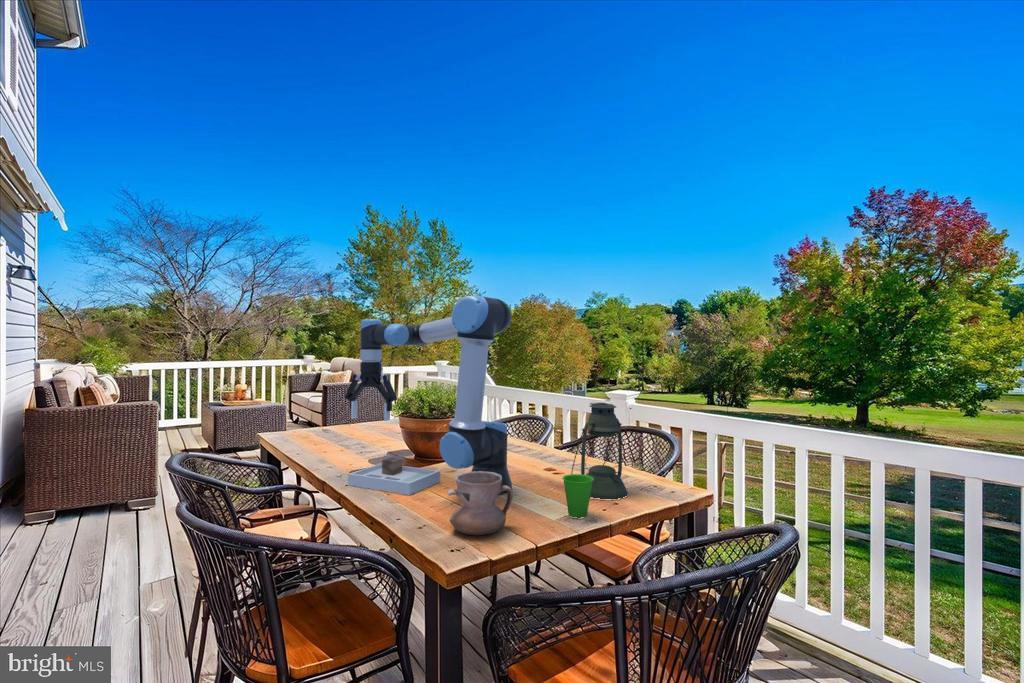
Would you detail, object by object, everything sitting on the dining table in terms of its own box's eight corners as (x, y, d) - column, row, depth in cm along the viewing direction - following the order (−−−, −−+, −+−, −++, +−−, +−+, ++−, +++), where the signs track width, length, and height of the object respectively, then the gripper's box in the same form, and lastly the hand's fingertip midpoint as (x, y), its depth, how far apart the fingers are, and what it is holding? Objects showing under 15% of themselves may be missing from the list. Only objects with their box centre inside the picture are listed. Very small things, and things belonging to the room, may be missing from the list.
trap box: (440, 482, 179) (440, 470, 179) (409, 495, 162) (409, 483, 162) (382, 473, 190) (382, 463, 190) (348, 485, 173) (348, 473, 173)
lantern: (601, 505, 155) (602, 408, 155) (560, 491, 168) (561, 402, 169) (641, 493, 168) (642, 403, 168) (601, 481, 181) (601, 399, 182)
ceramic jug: (451, 543, 124) (452, 486, 124) (442, 523, 137) (443, 471, 138) (520, 536, 129) (521, 481, 129) (505, 517, 143) (506, 468, 143)
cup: (595, 521, 140) (596, 482, 140) (563, 521, 140) (563, 482, 140) (591, 511, 149) (591, 474, 149) (560, 510, 149) (561, 473, 149)
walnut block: (401, 472, 182) (402, 458, 182) (393, 475, 178) (393, 461, 178) (390, 470, 184) (391, 457, 184) (381, 473, 180) (382, 459, 180)
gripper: (406, 361, 183) (406, 419, 183) (347, 360, 190) (346, 416, 190) (396, 362, 176) (395, 422, 176) (335, 361, 183) (334, 419, 183)
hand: (370, 419), depth 183 cm, fingers open, 13 cm apart
